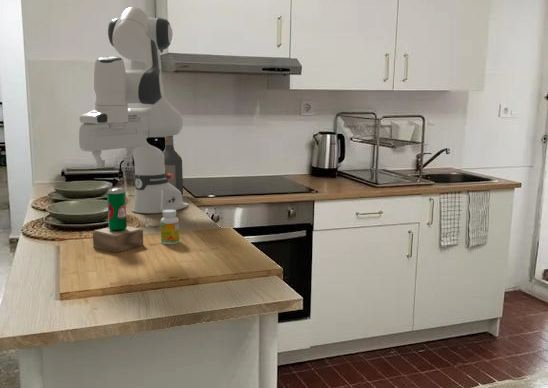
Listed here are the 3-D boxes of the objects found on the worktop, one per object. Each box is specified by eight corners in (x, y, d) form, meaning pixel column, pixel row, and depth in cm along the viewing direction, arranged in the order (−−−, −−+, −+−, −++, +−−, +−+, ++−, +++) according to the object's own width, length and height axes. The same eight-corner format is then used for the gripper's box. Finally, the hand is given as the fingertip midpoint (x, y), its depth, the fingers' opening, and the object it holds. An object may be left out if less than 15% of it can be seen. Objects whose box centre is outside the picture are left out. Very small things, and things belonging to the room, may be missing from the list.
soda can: (121, 232, 158) (119, 190, 156) (105, 231, 160) (103, 190, 157) (130, 228, 163) (128, 187, 161) (114, 227, 164) (112, 187, 162)
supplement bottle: (157, 243, 165) (156, 211, 164) (167, 239, 170) (166, 208, 169) (173, 245, 164) (172, 213, 162) (182, 241, 169) (181, 209, 167)
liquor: (173, 198, 238) (171, 128, 233) (156, 197, 242) (153, 128, 237) (185, 195, 247) (183, 127, 241) (168, 194, 250) (166, 127, 245)
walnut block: (121, 240, 169) (120, 224, 168) (143, 245, 164) (142, 228, 163) (93, 247, 161) (92, 230, 160) (116, 252, 156) (115, 235, 155)
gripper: (133, 114, 166) (135, 160, 169) (74, 116, 150) (77, 167, 152) (148, 114, 162) (149, 161, 165) (88, 117, 146) (91, 169, 149)
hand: (114, 164), depth 158 cm, fingers open, 8 cm apart
